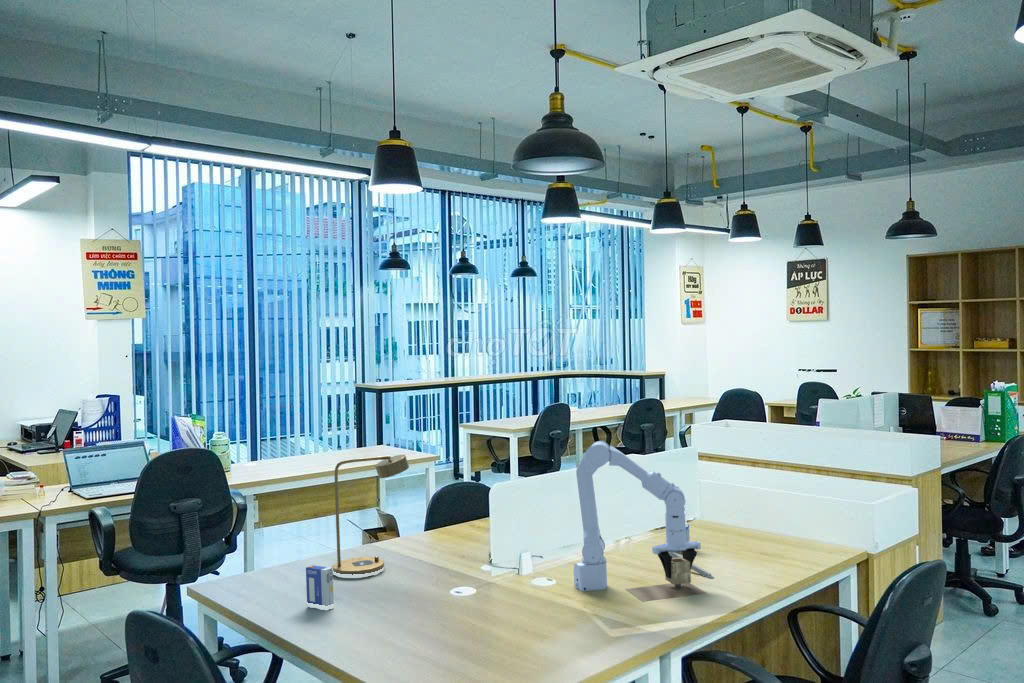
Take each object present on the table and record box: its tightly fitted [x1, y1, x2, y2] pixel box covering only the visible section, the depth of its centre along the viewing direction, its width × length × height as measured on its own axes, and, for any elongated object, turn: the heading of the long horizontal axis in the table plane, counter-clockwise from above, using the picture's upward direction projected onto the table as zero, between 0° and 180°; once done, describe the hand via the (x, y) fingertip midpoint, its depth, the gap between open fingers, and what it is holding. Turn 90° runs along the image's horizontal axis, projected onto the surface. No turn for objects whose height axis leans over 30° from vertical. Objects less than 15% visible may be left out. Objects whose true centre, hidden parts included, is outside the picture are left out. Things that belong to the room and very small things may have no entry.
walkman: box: [305, 564, 335, 606], centre depth 223 cm, size 8×3×12 cm, turn 60°
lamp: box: [331, 454, 410, 575], centre depth 262 cm, size 17×27×38 cm, turn 113°
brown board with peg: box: [625, 582, 707, 603], centre depth 222 cm, size 20×12×7 cm, turn 105°
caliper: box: [668, 551, 715, 580], centre depth 246 cm, size 20×1×6 cm, turn 31°
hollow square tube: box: [664, 556, 692, 585], centre depth 225 cm, size 5×5×6 cm
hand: (677, 576), depth 225 cm, fingers closed on hollow square tube, 5 cm apart
